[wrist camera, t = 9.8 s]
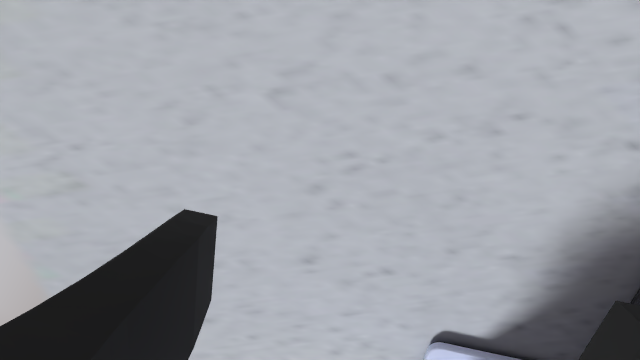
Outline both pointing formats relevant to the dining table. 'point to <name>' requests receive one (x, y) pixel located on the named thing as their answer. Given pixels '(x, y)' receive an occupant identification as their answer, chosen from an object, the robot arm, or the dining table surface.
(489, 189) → the dining table surface
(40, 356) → the robot arm
